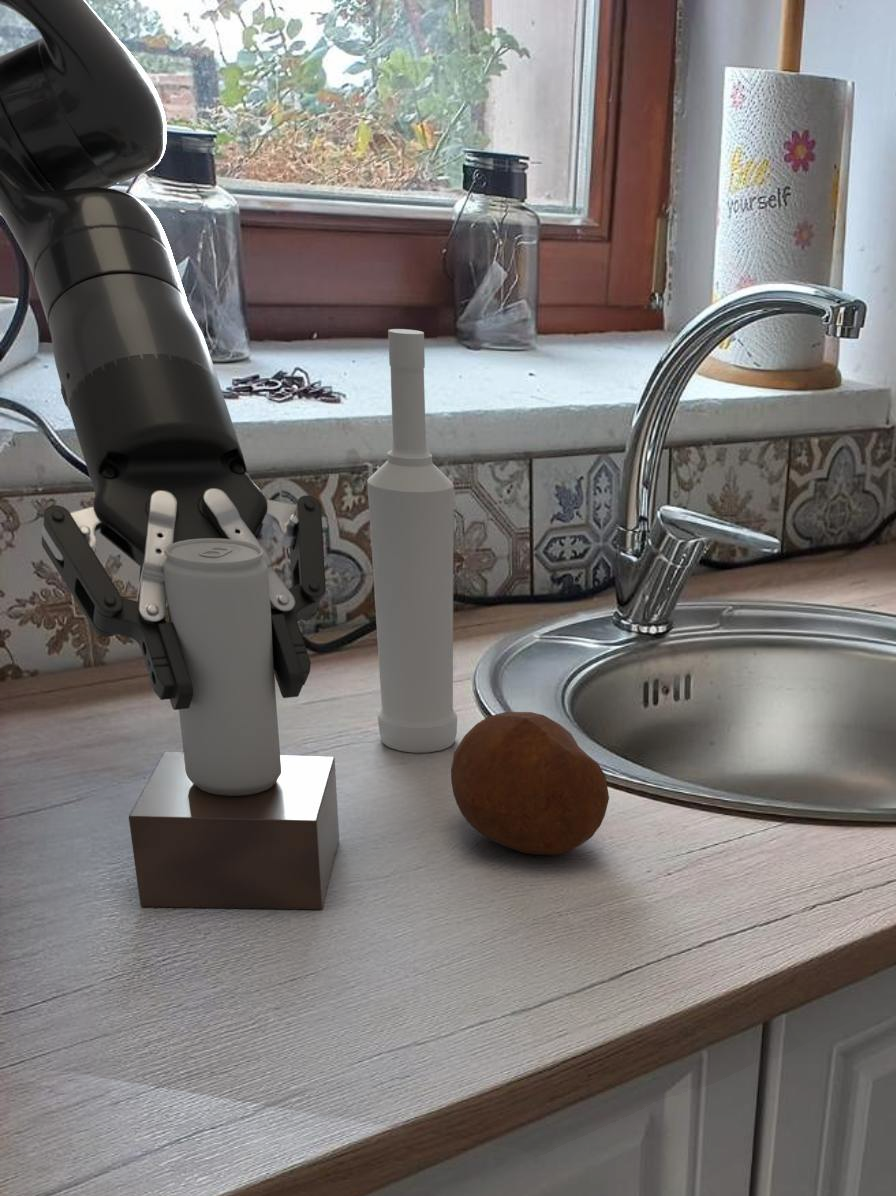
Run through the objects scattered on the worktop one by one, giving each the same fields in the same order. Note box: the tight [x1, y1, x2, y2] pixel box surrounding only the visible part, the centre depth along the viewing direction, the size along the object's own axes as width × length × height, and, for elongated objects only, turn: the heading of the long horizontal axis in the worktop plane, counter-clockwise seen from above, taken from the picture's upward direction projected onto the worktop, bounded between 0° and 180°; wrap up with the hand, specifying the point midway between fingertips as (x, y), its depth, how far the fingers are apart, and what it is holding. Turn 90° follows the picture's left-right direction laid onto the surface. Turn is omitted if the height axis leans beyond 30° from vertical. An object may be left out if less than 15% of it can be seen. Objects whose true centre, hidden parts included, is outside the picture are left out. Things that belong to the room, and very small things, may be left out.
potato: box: [450, 711, 610, 856], centre depth 87 cm, size 8×11×8 cm
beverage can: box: [163, 538, 281, 796], centre depth 77 cm, size 5×5×12 cm
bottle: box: [366, 328, 458, 754], centre depth 95 cm, size 5×5×25 cm
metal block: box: [128, 751, 340, 910], centre depth 81 cm, size 9×9×5 cm
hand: (240, 694), depth 76 cm, fingers closed on beverage can, 5 cm apart
